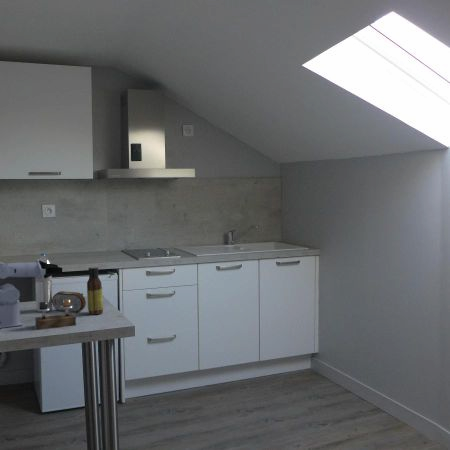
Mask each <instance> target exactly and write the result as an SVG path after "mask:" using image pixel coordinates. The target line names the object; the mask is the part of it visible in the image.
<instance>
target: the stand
mask: <svg viewBox="0 0 450 450" xmlns="http://www.w3.org/2000/svg"><path fill="white" fill-rule="evenodd" d="M34 318H35V320H34V321H35V326H36V328H37V329H38V330H46V329H55V328H62V327H64V326H65V327H70V326H76V325H77V321H76V318H77V317H76V316H75V315H74V314H73V313H72V312H69V316H65V313H63V314H62V313H61V314H53V315H45V319H42V316H38V317H37V316H36V317H34Z"/></svg>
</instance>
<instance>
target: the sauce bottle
mask: <svg viewBox="0 0 450 450" xmlns="http://www.w3.org/2000/svg"><path fill="white" fill-rule="evenodd" d="M88 272H89V273H88V280H87V282H86V293H87V295H86V296H87V310H88V313H89V315H101V314H103V313H104V302H103V301H104V300H103V286H102V281H101V280H100V277H99V267H98V266H90V267H88Z"/></svg>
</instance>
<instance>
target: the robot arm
mask: <svg viewBox="0 0 450 450" xmlns="http://www.w3.org/2000/svg"><path fill="white" fill-rule="evenodd" d="M59 274H60V275H61V274H63V267H61V266H59V265H58V264H54V263H52V264H49V263H45V262H42V261H39V258H37V259H36V261H35V262H33V261H32V262H29V261H28V262H26V261H25V262H23V261H22V262H6V263H5V262H3V261H0V279H2V280H5V279H7V278H33V277H34V278H36V277H39V276H40V275H44V278H48V277H50V276H55V275H59ZM20 297H21V293H20V290H19V289H18V288H16V287H15V285H14V284H11V283H5V284H3V285H1V286H0V329H5V328H12V327H20V326H23V323H22V321H21V307H20V300H19V299H20Z"/></svg>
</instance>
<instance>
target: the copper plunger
mask: <svg viewBox="0 0 450 450" xmlns="http://www.w3.org/2000/svg"><path fill="white" fill-rule="evenodd" d="M60 308H61V309H65V311H64V314H65V316H69V314H70V312H69V311H68V309H72V308H73V305H71V300H70V299H65V300H63V305H62V306H60Z"/></svg>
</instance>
